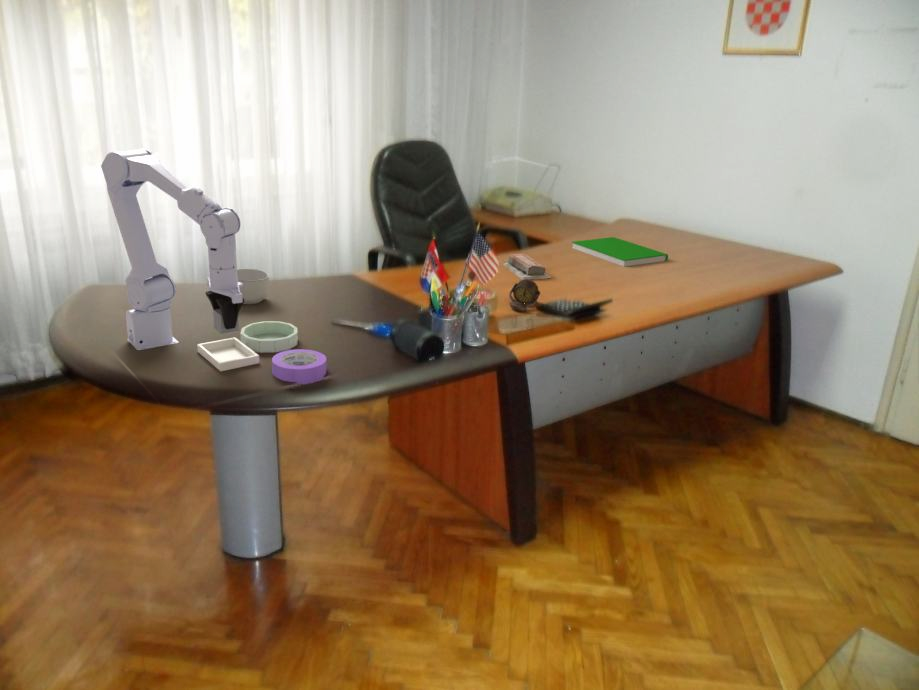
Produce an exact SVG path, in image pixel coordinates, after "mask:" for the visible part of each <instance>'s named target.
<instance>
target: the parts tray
mask: <svg viewBox="0 0 919 690" xmlns="http://www.w3.org/2000/svg"><path fill="white" fill-rule="evenodd" d="M196 345H197V352H198V354H200V355H201V356H202V357H203V358H204V359H206V361H208V362H209V363H210V364H211V365H212V366H214V367H215V368H216V370H218V371H219V372H223V371H228V370H233V369H238V368H243V367H244V368H245V367H249V366H252V365H257V364H260V355H259V354H258V353H257V352H256V351H253V350H251V349H250V348H249V347H247V346H246V345H245V344H243V343H242V342H241V340H240V339H238V338H237V337H235V336H234V337H230V338H224V339H219V340H214V341H213V340H212V341H207V342H202V343H197V344H196Z"/></svg>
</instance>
